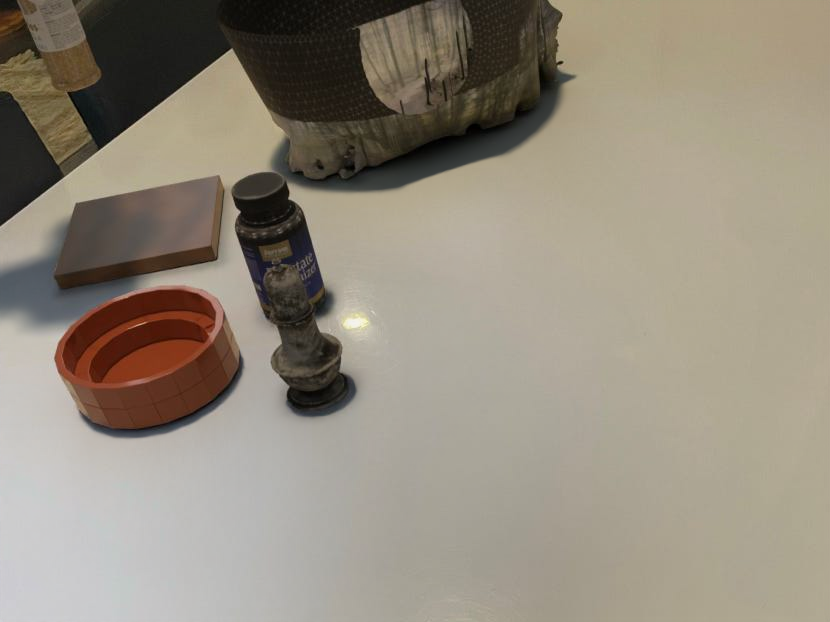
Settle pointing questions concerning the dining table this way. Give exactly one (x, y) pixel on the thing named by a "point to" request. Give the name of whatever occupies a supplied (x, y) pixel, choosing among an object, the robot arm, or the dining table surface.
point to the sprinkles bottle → (61, 43)
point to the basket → (388, 71)
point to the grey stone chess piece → (302, 343)
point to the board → (141, 232)
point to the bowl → (148, 356)
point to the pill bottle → (274, 234)
